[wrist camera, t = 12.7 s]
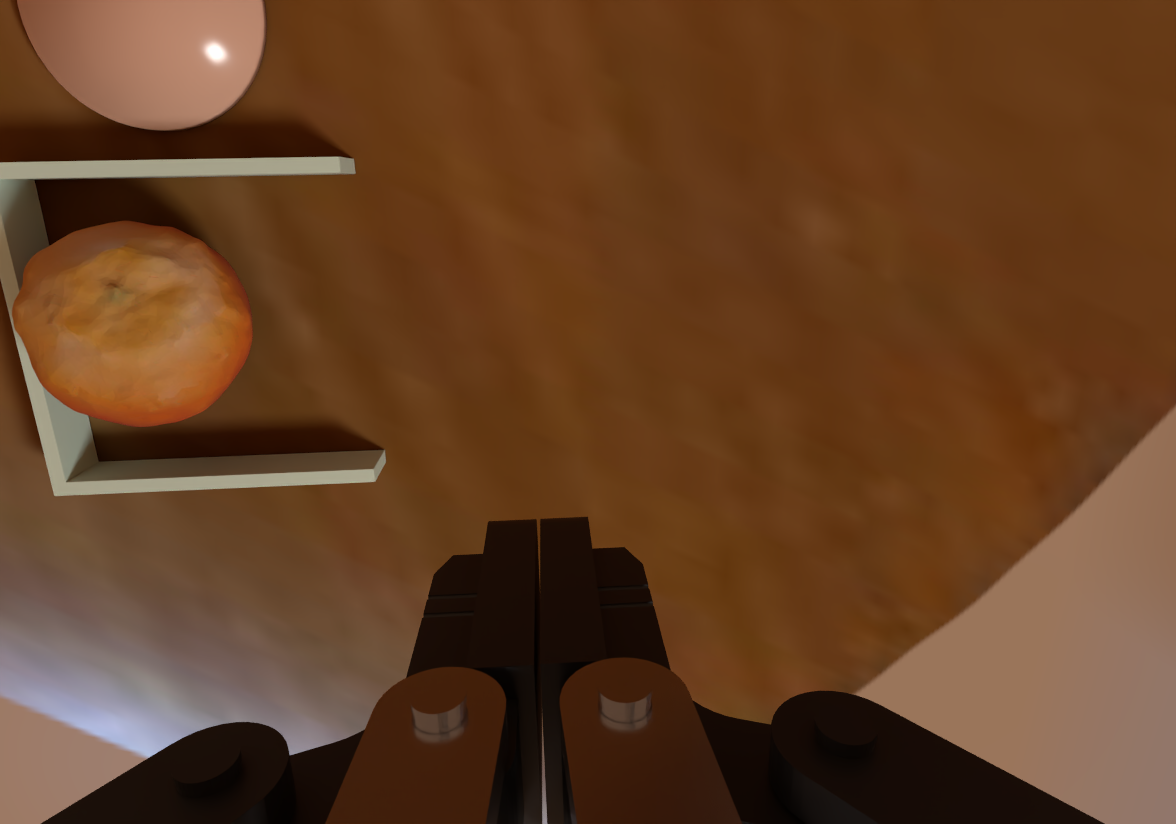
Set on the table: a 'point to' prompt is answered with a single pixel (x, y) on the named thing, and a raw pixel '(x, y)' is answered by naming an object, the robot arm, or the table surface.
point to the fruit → (133, 323)
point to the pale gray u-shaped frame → (3, 248)
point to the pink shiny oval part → (150, 55)
